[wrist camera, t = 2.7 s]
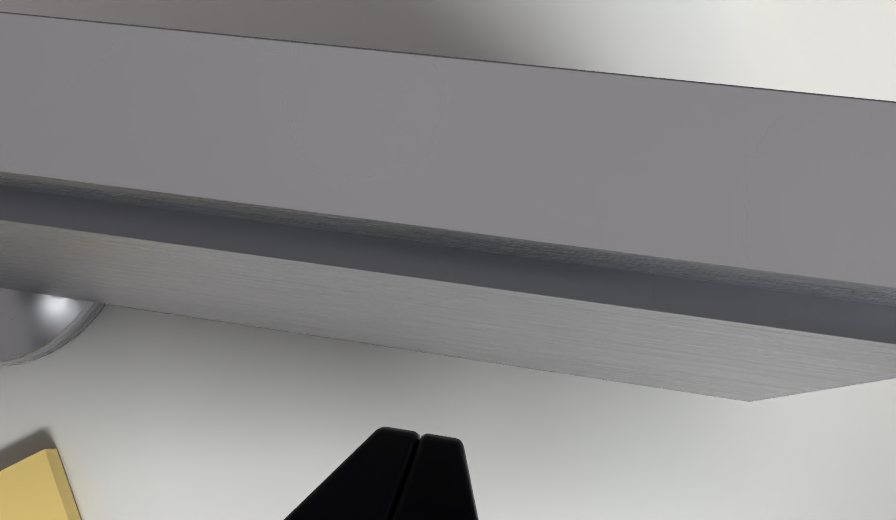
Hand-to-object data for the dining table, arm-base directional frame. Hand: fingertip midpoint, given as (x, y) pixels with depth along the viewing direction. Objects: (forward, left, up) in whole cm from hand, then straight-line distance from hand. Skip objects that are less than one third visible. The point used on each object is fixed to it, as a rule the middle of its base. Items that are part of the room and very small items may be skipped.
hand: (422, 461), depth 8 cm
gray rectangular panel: (-1, +4, -6) cm, 7 cm away
